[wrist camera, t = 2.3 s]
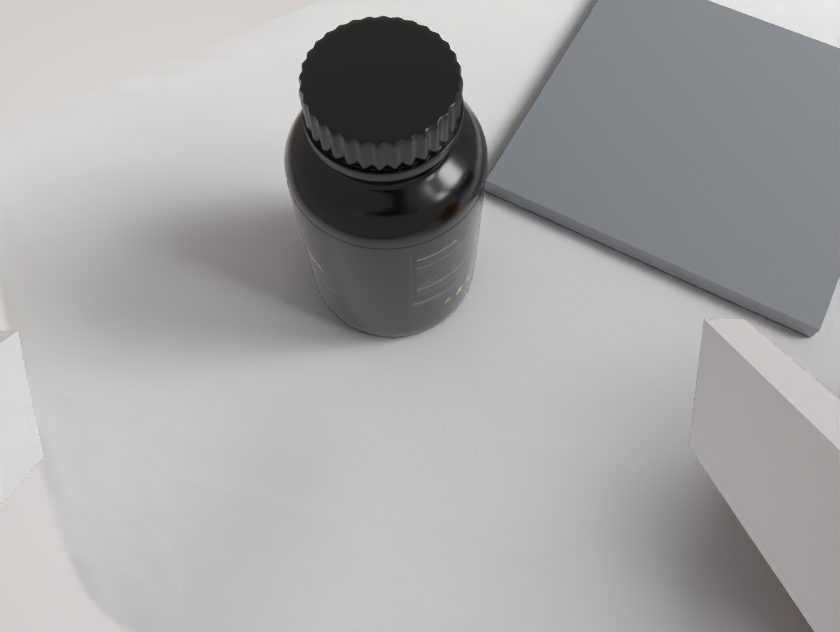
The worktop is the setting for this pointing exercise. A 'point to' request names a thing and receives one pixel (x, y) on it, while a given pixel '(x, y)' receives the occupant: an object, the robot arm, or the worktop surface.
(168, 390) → the worktop surface
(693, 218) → the slate tile
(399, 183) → the supplement bottle
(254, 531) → the worktop surface
